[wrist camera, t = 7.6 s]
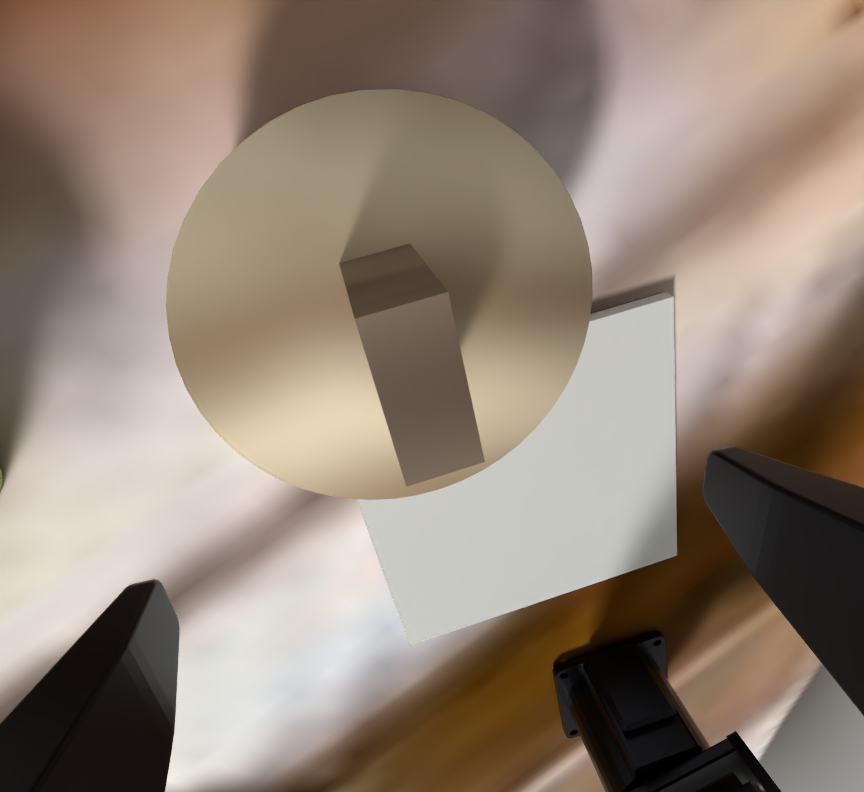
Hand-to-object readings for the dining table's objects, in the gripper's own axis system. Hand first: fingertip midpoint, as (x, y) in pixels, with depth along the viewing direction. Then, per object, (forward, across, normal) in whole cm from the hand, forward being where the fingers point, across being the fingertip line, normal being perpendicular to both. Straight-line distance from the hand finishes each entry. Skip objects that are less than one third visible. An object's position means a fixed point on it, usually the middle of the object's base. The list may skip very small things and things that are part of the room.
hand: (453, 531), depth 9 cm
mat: (+13, -5, +10) cm, 17 cm away
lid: (+8, 0, -1) cm, 8 cm away
